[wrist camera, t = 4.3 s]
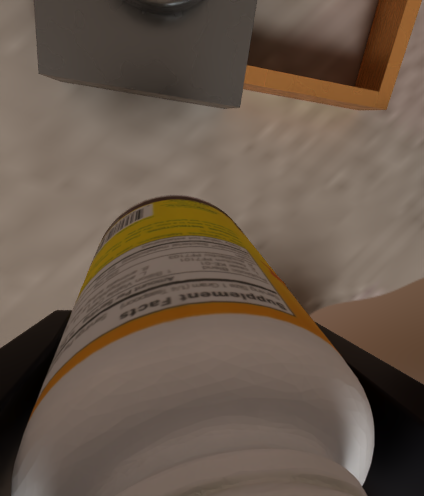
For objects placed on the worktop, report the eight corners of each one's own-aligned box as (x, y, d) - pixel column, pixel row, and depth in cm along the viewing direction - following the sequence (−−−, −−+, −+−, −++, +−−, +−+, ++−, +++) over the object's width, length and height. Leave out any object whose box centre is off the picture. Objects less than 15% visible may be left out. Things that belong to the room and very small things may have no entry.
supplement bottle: (229, 322, 13) (398, 776, 4) (95, 318, 12) (-78, 953, 3) (258, 199, 11) (702, 556, 2) (101, 178, 10) (-393, 822, 1)
